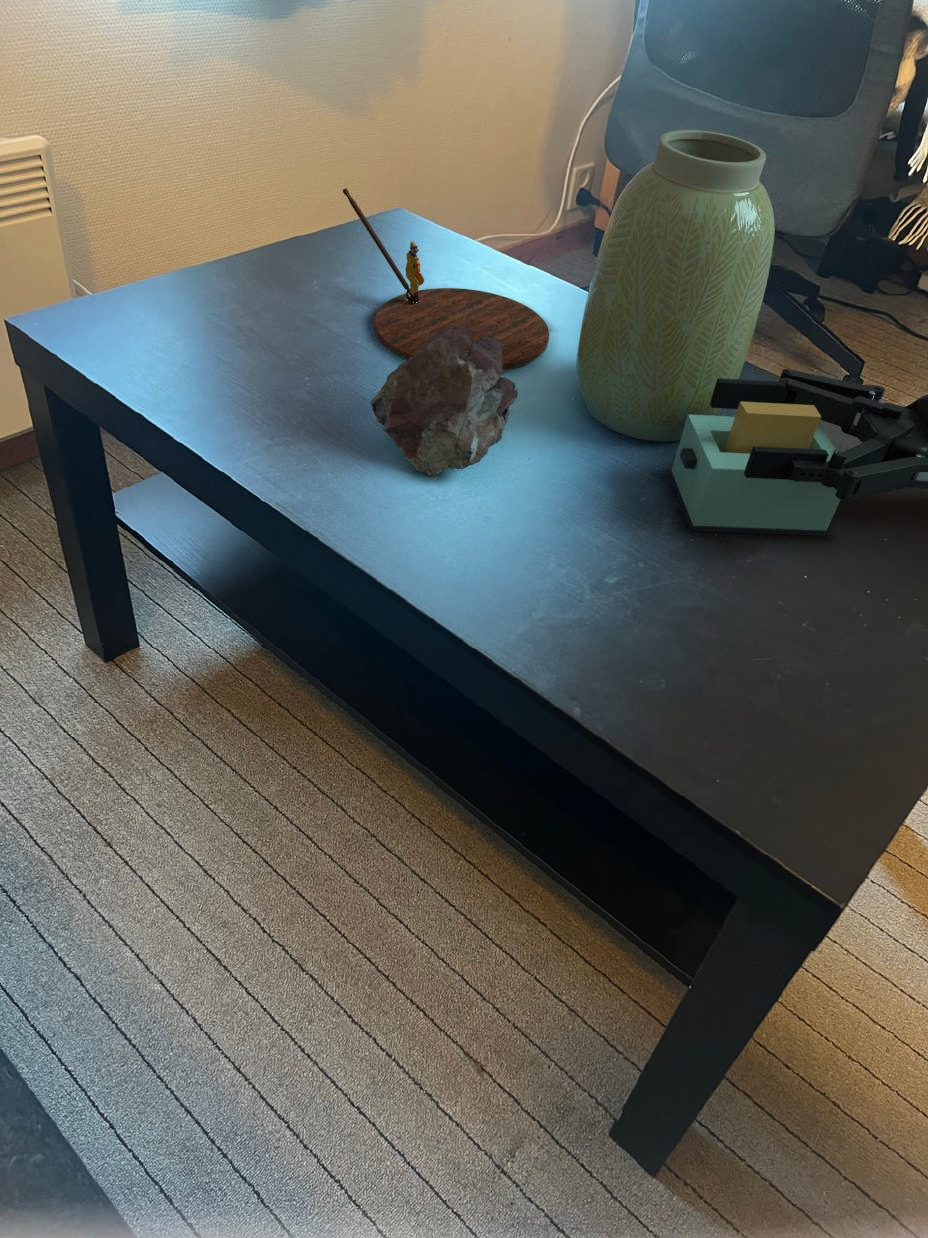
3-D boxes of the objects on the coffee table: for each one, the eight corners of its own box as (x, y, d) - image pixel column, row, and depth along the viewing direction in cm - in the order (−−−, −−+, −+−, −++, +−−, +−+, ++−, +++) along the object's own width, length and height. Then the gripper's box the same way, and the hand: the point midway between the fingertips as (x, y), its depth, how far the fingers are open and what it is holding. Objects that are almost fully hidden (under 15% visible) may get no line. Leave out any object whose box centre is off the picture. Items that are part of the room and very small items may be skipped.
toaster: (794, 480, 94) (818, 420, 89) (824, 536, 88) (852, 474, 83) (660, 475, 93) (677, 413, 88) (680, 530, 86) (700, 467, 81)
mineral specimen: (385, 490, 95) (453, 390, 101) (488, 501, 87) (555, 393, 94) (330, 402, 86) (409, 300, 93) (439, 407, 79) (516, 295, 85)
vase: (614, 355, 110) (669, 106, 92) (748, 409, 104) (835, 151, 86) (538, 410, 100) (583, 139, 81) (682, 473, 93) (766, 194, 75)
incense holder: (476, 394, 101) (488, 295, 93) (283, 301, 113) (279, 207, 105) (581, 335, 114) (598, 244, 106) (397, 257, 126) (401, 170, 118)
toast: (778, 495, 91) (814, 404, 84) (785, 507, 89) (821, 416, 83) (709, 492, 90) (739, 401, 83) (714, 504, 89) (746, 412, 82)
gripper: (999, 548, 80) (755, 539, 78) (892, 407, 97) (689, 396, 95) (1044, 475, 75) (785, 463, 73) (922, 340, 92) (709, 327, 90)
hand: (730, 425), depth 84 cm, fingers open, 11 cm apart
